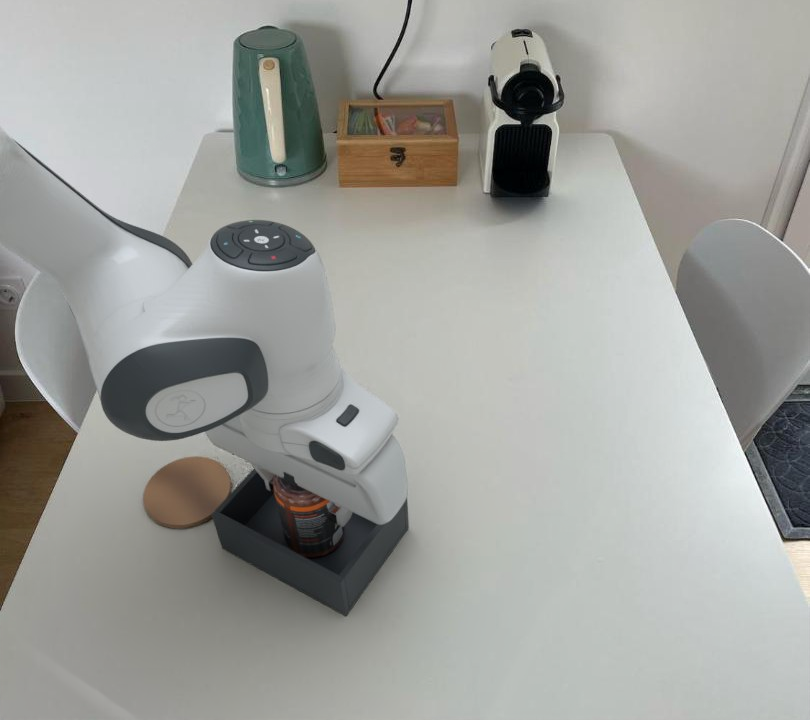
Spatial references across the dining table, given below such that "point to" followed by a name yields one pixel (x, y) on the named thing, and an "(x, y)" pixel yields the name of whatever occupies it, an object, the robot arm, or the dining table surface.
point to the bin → (316, 577)
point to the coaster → (186, 492)
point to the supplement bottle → (305, 519)
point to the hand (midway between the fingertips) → (309, 503)
